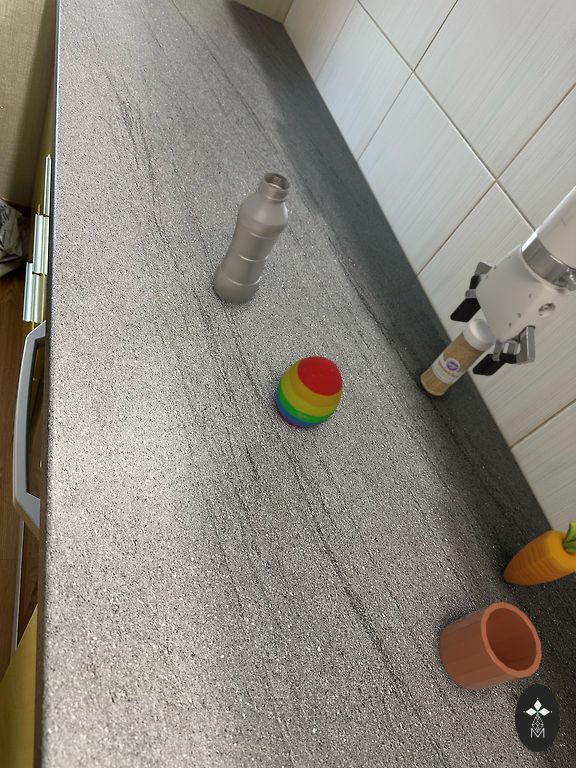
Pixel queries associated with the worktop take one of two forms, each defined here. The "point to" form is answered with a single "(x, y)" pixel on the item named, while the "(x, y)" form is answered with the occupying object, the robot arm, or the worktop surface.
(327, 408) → the decorative egg
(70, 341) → the worktop surface
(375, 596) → the worktop surface
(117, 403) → the worktop surface
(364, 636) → the worktop surface
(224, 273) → the plastic bottle
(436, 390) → the sprinkles bottle
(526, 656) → the terracotta pot
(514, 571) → the carrot
